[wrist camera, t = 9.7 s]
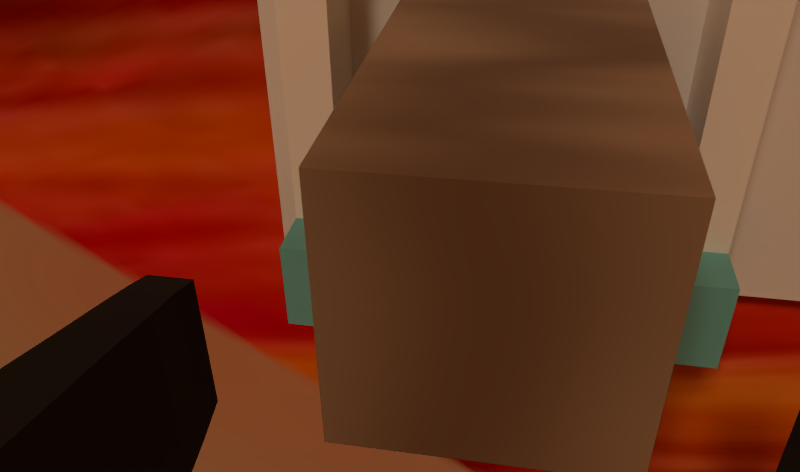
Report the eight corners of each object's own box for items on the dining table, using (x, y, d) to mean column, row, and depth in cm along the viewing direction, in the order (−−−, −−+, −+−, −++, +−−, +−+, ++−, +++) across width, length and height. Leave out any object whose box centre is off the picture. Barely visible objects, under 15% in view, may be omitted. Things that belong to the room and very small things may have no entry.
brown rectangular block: (643, -11, 14) (716, 198, 8) (611, 193, 17) (644, 482, 10) (411, -19, 15) (298, 167, 9) (412, 178, 18) (325, 442, 11)
